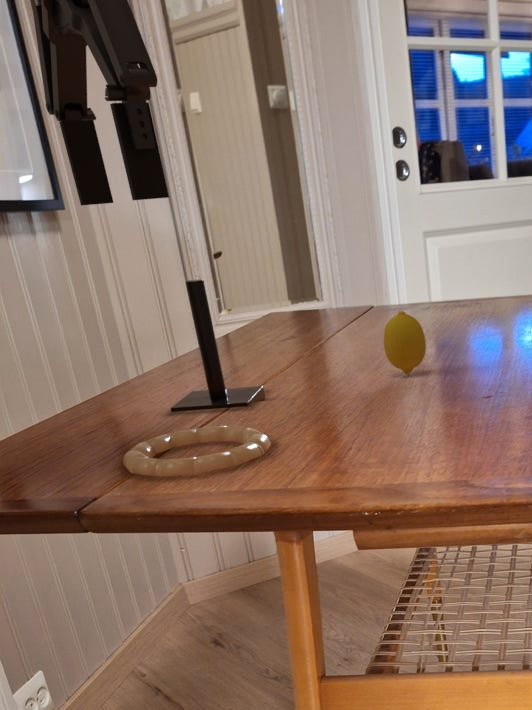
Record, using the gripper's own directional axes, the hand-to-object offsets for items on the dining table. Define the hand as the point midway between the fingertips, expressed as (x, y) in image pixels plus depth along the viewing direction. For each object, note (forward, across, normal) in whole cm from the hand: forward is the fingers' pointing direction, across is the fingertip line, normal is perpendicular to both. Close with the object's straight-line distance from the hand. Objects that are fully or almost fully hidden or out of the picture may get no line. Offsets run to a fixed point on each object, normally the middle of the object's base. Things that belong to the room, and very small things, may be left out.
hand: (122, 202), depth 74 cm
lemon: (+23, +16, -38) cm, 47 cm away
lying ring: (+22, -2, -1) cm, 22 cm away
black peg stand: (+23, +20, -12) cm, 33 cm away
